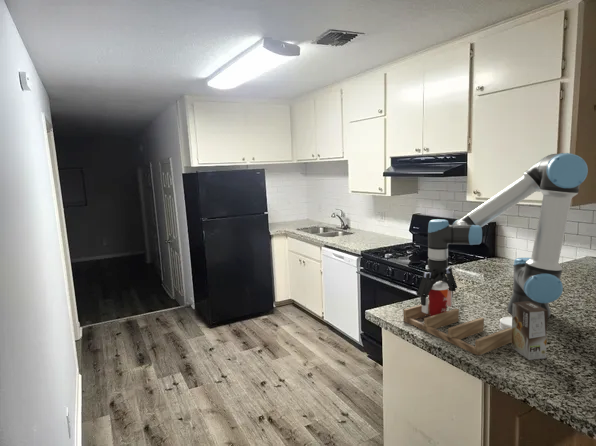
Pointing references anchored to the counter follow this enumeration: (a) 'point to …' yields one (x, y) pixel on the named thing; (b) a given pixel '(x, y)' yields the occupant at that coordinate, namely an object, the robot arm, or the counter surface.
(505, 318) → the white round dish
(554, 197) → the robot arm
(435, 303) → the coffee cup
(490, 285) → the counter surface
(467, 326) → the oak rack
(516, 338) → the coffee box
